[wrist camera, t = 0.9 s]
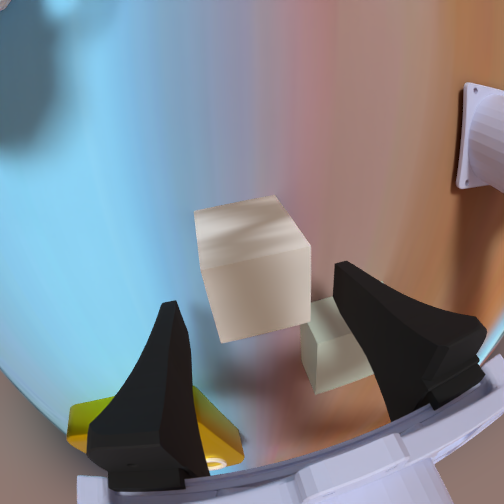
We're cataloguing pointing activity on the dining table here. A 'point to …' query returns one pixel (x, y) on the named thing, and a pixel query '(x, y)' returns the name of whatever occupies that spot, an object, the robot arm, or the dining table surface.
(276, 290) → the ash block
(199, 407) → the element tile
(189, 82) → the dining table surface
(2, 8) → the cup
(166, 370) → the robot arm
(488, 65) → the dining table surface
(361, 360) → the sage base block
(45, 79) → the dining table surface
